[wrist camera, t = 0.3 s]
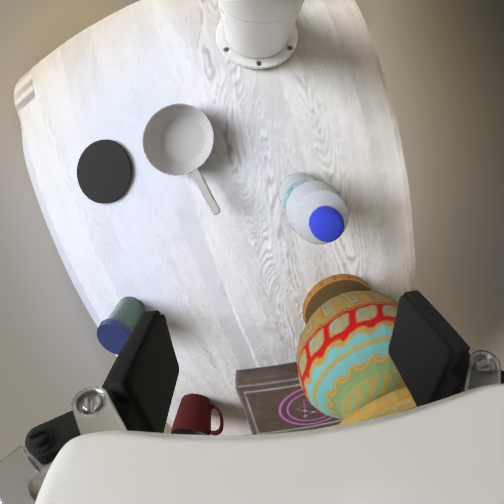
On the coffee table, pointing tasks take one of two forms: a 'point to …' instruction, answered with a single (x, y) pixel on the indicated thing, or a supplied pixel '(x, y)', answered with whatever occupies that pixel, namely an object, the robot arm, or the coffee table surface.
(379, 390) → the vase
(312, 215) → the bottle
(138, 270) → the coffee table surface
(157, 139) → the saucepan
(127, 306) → the jar
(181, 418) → the mug
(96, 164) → the coaster
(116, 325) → the lid
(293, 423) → the book
